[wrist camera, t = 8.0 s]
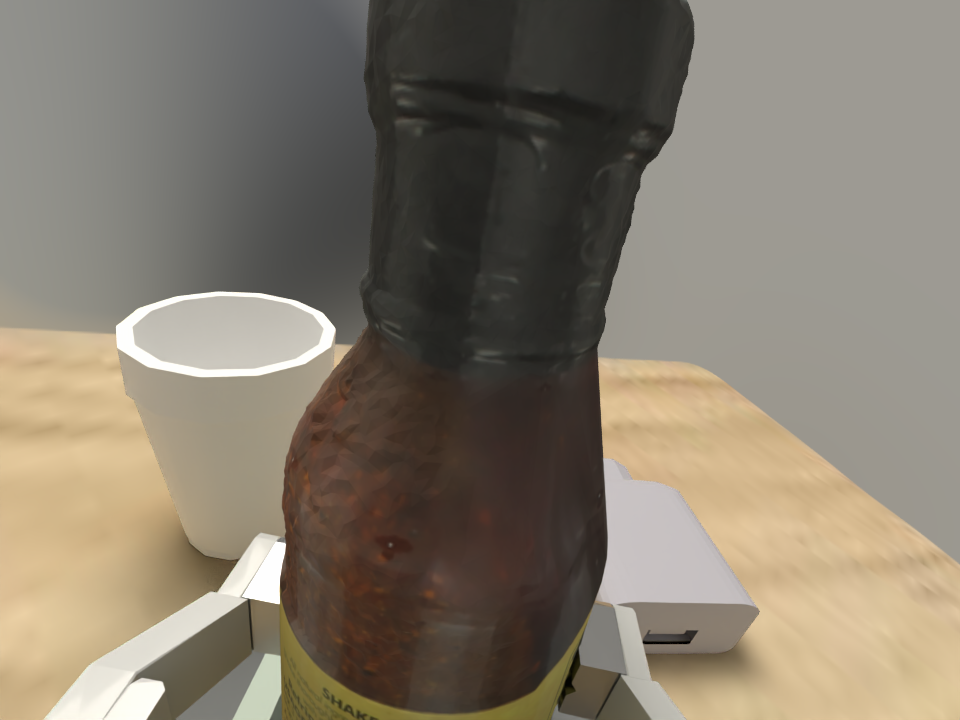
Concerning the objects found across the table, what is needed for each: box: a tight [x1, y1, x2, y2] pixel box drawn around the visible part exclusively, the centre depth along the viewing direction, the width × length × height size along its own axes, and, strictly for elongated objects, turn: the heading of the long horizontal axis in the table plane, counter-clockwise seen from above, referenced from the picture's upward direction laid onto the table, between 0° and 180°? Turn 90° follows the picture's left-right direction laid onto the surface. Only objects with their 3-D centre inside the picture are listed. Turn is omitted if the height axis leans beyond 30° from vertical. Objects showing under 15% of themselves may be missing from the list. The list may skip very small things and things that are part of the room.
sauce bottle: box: [279, 0, 694, 720], centre depth 10 cm, size 7×6×20 cm
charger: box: [596, 458, 760, 654], centre depth 31 cm, size 5×9×15 cm
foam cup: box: [116, 292, 336, 560], centre depth 25 cm, size 10×9×13 cm
